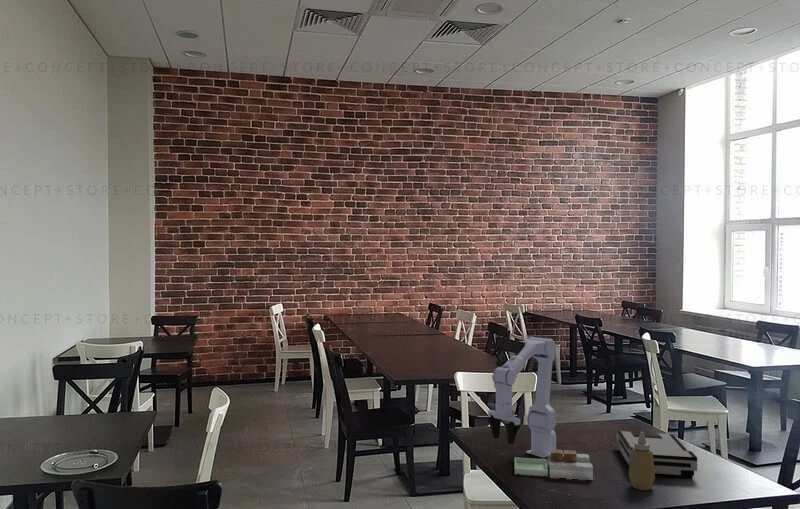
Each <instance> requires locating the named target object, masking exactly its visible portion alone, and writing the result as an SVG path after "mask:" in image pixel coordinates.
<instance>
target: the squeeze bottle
mask: <svg viewBox="0 0 800 509" xmlns="http://www.w3.org/2000/svg"><path fill="white" fill-rule="evenodd" d="M638 435H639V439H638V442H635V443H634V447H635V448H633V449H632V450H631V458H630V466H629V465H628V468H629V469H628V478H629V480H630V483H631V484H630V485H631V486H632V487H633V488H634V489H636V490H640V491H650V490H651V489H652V487H653V485H654V481H655V480H656V475H655V474H656V473H655V472H654V461H653V452H652V451H651V450H649V449H650V444H649V443H647V442H646V439H645V436H646V434H645V432H644V431H640V433H639V434H638Z"/></svg>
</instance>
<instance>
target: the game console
mask: <svg viewBox="0 0 800 509" xmlns="http://www.w3.org/2000/svg"><path fill="white" fill-rule="evenodd" d="M657 434H658V435H645V439H646V442H647V443H649V444H650V449H649V450H651V451H652V452H653V461H654V472H655V474H661V475H672V477H673V478H682V479H683V478H684V479H693V477H695V472H697V471H698V456H696V454H695V453H694V452H693V451H692V450H688V449H687V448H686V447H685V446H684V445H683V444H682V443H681V442H680V440H679V439H677V437H676V436H675V435H674V434H673V433H657ZM639 435H640V434H633V433H632V432H631V431H625V430H624V431H622V430H616V438H615V439H616V442H617V443H618V445H619V451H620V453H621V455H622V457H623V458H624V460H625V462H626V463H627V465H628V467H629V466H630V458H631V450H632V449H633V448H635V447H634V443H635V442H638V439H639Z"/></svg>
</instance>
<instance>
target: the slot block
mask: <svg viewBox="0 0 800 509" xmlns="http://www.w3.org/2000/svg"><path fill="white" fill-rule="evenodd" d="M576 454H577V463H575V462H564V452H563V462H561V461H550V452H548V456H547V466H548V469H549V470H548V477H549V478H550V479H559V478H566V479H565V480H572V479H578V480H577V481H586V480H594V467H593V464H592V463H591V461H590V456H589V454H588V453H587V454H585V453H576Z"/></svg>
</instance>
